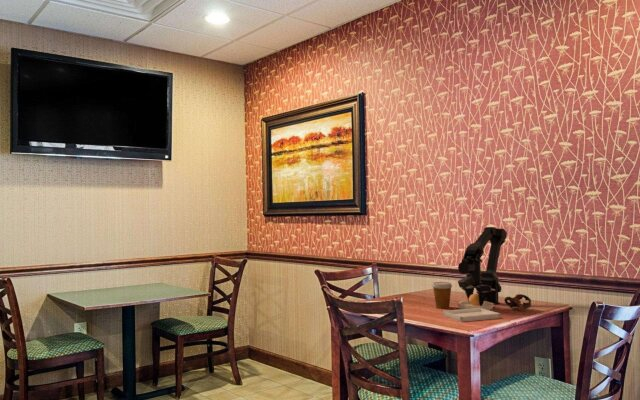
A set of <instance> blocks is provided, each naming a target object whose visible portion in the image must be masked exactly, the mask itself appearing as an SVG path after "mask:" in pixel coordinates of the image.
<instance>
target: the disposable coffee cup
mask: <svg viewBox="0 0 640 400" xmlns="http://www.w3.org/2000/svg"><path fill="white" fill-rule="evenodd" d="M452 287H453V285H452V283H451V282H448V281H436V282H433V283H432V289H433V296H434V302H435V308H437V309H449V308H450V305H451V304H450V302H451V291H452Z"/></svg>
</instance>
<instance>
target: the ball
mask: <svg viewBox="0 0 640 400" xmlns="http://www.w3.org/2000/svg"><path fill="white" fill-rule="evenodd" d="M469 302H470V304H471V305H473V306H479V305H480V304H479V296H478V294H477V293H473V294H472V295H471V296H470V297H469Z"/></svg>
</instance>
